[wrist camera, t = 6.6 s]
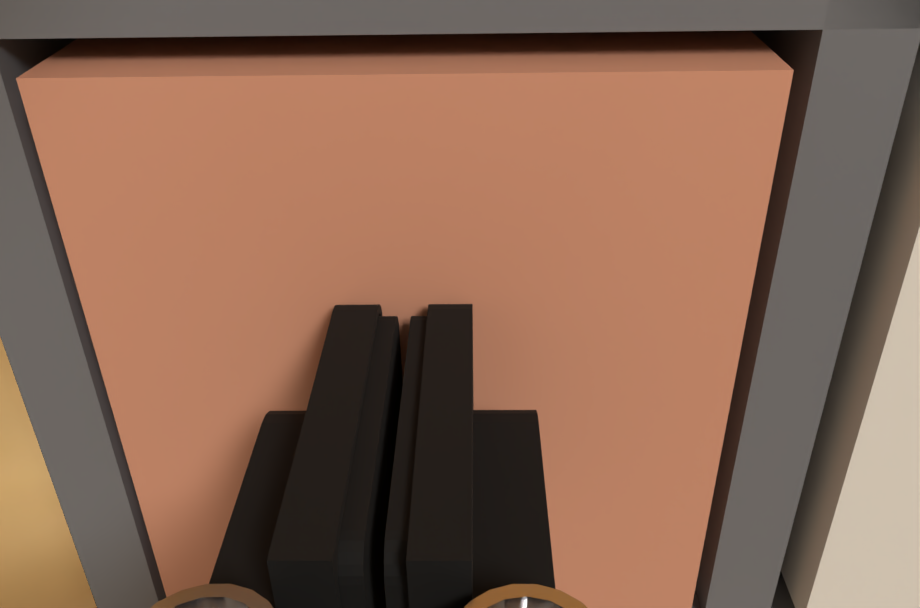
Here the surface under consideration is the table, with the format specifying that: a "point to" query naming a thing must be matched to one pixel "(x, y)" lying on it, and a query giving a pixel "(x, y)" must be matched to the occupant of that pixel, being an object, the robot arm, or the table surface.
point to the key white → (871, 417)
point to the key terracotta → (424, 254)
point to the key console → (478, 12)
